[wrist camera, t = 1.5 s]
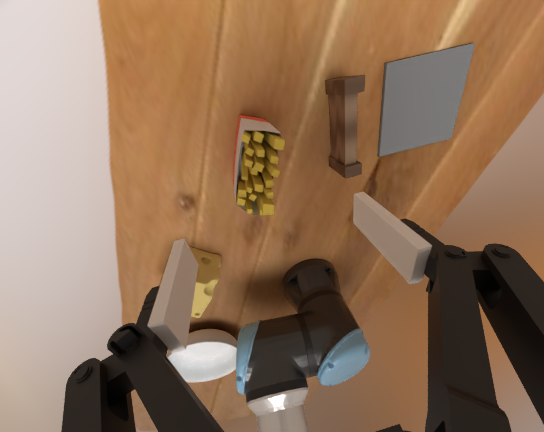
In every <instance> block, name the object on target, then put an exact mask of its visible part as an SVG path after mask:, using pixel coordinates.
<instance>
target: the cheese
mask: <svg viewBox="0 0 544 432" xmlns="http://www.w3.org/2000/svg"><path fill="white" fill-rule="evenodd" d="M189 248H190V250H191V251H192V253H193V255H194V257H195V259H196V261H197V263H198V271H197V278H196V285H195V292H194V299H193V306H192V313H191V316H192V317H196V318H200V316H201V315H202V313H203V312H204V310H205V309H206V307H207V305H208V304H209V302H210V301H211V299H212V297H213V290H214V287H215V285H216V283H217V282H218V280H219V277H220V271H219V268H220V266H221V263H222V259H221V256H220V255H217V254H212V253H208V252H205V251H202V250H199V249H196V248H193V247H190V246H189ZM164 272H165V271H164ZM163 275H164V273H163ZM163 275H162V278H163ZM162 278H161V281H162ZM161 281H160V284H159V286H160V285H161Z"/></svg>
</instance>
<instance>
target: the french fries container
mask: <svg viewBox="0 0 544 432" xmlns="http://www.w3.org/2000/svg"><path fill="white" fill-rule="evenodd" d="M284 145H285V140H284V139H282V138H281V133H280V132H279V131H278V130H277V129H276V128H275V127H273V126H272V125H271V124H270V123H269V122H268V121H266V120H265V119H262V118H256V117H250V116H245V115H239V121H238V127H237V135H236V145H235V155H234V170H233V185H234V194H235V202H236V205H238V206H239V207H241V208H242V209H244V210H245V211H247V213H250V214H254V215H266V214H270V215H273V213H274V203H273V202H272V200H271V199H274V193H273V191H272V189H271V188H274V185H273V176H274V177H276V178H278V176H279V174H280V171H279V169H278V168H277V167H276V164H277V163H278V158H279V157H278V150H283V151H284Z"/></svg>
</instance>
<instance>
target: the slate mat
mask: <svg viewBox="0 0 544 432" xmlns="http://www.w3.org/2000/svg"><path fill="white" fill-rule="evenodd" d="M474 46H475V43H472V44H467V45H463V46H458V47H454V48H450V49H445V50H441V51H437V52H432V53H428V54H424V55H419V56H415V57H411V58H406V59H402V60H397V61H393V62H389V63H385V66H384V79H383V92H382V105H381V118H380V132H379V145H378V156H379V157H380V156H384V155H388V154H392V153H396V152H400V151H404V150H408V149H412V148H416V147H420V146H424V145H428V144H432V143H435V142H439V141H443V140H447V139H451V138H452V134H453V130H454V126H455V122H456V118H457V114H458V110H459V106H460V102H461V98H462V94H463V90H464V86H465V82H466V78H467V74H468V70H469V66H470V62H471V58H472V54H473V50H474Z"/></svg>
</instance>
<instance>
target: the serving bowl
mask: <svg viewBox="0 0 544 432" xmlns="http://www.w3.org/2000/svg"><path fill="white" fill-rule="evenodd" d="M236 352H237V340H236V339H235V338H234V337H233V336H232V335H231V334H229V333H227V332H225V331H222V330H217V329H203V330H198V331H194V332H191V333H189V334H188V341H187V348H186V350H183V351H180V352H176V353H173V354H172V353H171V352H170V351H169V353H168V355H167V358H168V359H169V360H170V362H171V363H172V364H173V366H174V367H175V368H176V370H177V371H178V372H179V373H180V375H181V376H182V377H183V379H184V380H185V381H186V382H204V381H210V380H214V379H217V378H220V377H223V376H225V375H227V374H229V373H231V372H232V371H234V370H235V369H236Z"/></svg>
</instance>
